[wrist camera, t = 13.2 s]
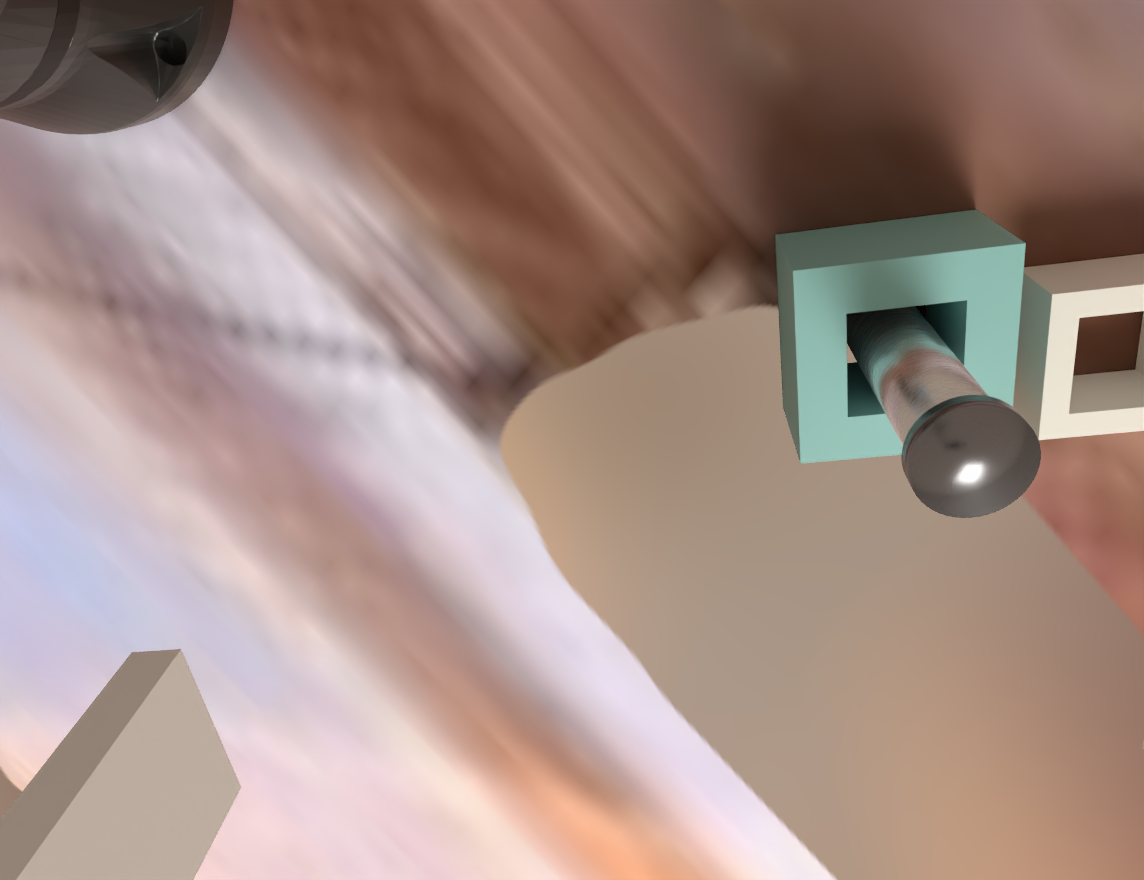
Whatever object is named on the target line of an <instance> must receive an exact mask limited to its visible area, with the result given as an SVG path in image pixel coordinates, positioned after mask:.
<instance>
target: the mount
mask: <svg viewBox="0 0 1144 880" xmlns="http://www.w3.org/2000/svg"><path fill="white" fill-rule="evenodd" d="M1139 311H1144V254H1136V255H1128V256H1119V257H1110V258H1102V259H1093V260H1085V261H1076V262H1067V263H1059V264H1050V265H1041V266H1033V267H1024V272H1023V285H1022V297H1021V310H1020V323H1019V335H1018V348H1017V361H1016V373H1015V386H1014V399H1013V407H1014V408H1015V409H1016V410H1017V411H1018V412H1019V413H1020V415H1021V416H1022V417H1023V418H1024V419H1025V420H1026V422H1027V423H1028V424H1029V425H1030V426H1031V428H1032V429H1033V430H1034V432H1035V434H1036V436H1037V438H1038V440H1044V439H1056V438H1067V437H1078V436H1089V435H1100V434H1111V433H1122V432H1133V431H1144V312H1143V318H1142V325H1141V332H1140V339H1139V346H1138V353H1137V360H1136V367H1135V370H1125V371H1115V372H1105V373H1095V374H1085V375H1075V376H1073V372H1074V363H1075V354H1076V344H1077V335H1078V326H1079V318H1084V317H1093V316H1102V315H1112V314H1121V313H1130V312H1139Z"/></svg>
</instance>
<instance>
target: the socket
mask: <svg viewBox="0 0 1144 880" xmlns="http://www.w3.org/2000/svg"><path fill="white" fill-rule="evenodd" d="M775 243H776V264H777V285H778V306H779V326H780V327H779V328H780V346H781V347H780V348H781V370H782V390H783V408H784V412H785V415H786V418H787V421H788V425H789V428H790V431H791V434H792V438H793V441H794V444H795V447H796V450H797V454H798V457H799V460H800V463H812V462H822V461H834V460H845V459H856V458H867V457H878V456H890V455H901V454H902V447H903V445H902V443H901V441H900V439H899V437H898V436H897V434H896V432H895V430H894V428H893V426H892V425H891V423H890V421H889V419H888V417H887V415H886V414H885V412H884V410H883V408H882V406H881V404H880V403H879V401H878V399H877V397H876V395H875V393H874V392H873V390H872V388H871V386H870V384H869V382H868V381H867V379H866V377H865V375H864V373H863V371H862V370H861V368H860V366H859V364H858V362H855V363H847V317H846V314H849V313H858V312H867V311H876V310H885V309H894V308H903V307H912V306H921V305H926V313H925V319H926V320H927V322H928V323H929V324H930V325H931V326H932V328H933V329H934V330H935V331H936V333H937V334H938V335H939V336H940V337H941V339H942V340H943V341H944V342H945V343H946V345H947V346H948V347H949V348H950V350H951V351H952V352H953V353H954V354H955V356H956V357H957V358H958V359H959V361H960V362H961V363H962V364H963V365H964V367H965V368H966V369H967V370H968V371H969V373H970V374H971V375H972V376H973V378H974V379H975V380H976V381H977V382H978V384H979V385H980V386H981V387H982V389H983V390H984V391H985V392H986V393H987V395H988V396H990V397H994V398H997V399H1000V400H1002V401H1004V402H1006V403H1008V404H1009V405H1011V406H1012V407H1013V399H1014V386H1015V373H1016V361H1017V348H1018V335H1019V323H1020V310H1021V297H1022V285H1023V272H1024V259H1025V247H1026V243H1025V242H1023V241H1022V240H1020V239H1019V238H1017V237H1016V236H1015V235H1013V234H1012V233H1010V232H1009V231H1007V230H1006V229H1004V228H1003V227H1001V226H1000V225H998V224H997V223H996V222H994V221H993V220H991V219H990V218H988V217H987V216H985V215H984V214H982V213H981V212H979V211H978V210H977V209H976V210H968V211H960V212H952V213H944V214H936V215H928V216H920V217H912V218H904V219H896V220H888V221H880V222H872V223H864V224H856V225H848V226H841V227H833V228H825V229H817V230H809V231H801V232H793V233H785V234H777V235H775Z"/></svg>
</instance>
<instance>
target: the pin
mask: <svg viewBox="0 0 1144 880" xmlns="http://www.w3.org/2000/svg"><path fill="white" fill-rule="evenodd" d="M846 317H847V344H848V346H849V347H850V349H851V351H852V353H853V355H854V357H855V359H856V360H857V362H858V364H859V366H860V368H861V370H862V371H863V373H864V375H865V377H866V379H867V381H868V382H869V384H870V386H871V388H872V390H873V392H874V393H875V395H876V397H877V399H878V401H879V403H880V404H881V406H882V408H883V410H884V412H885V414H886V415H887V417H888V419H889V421H890V423H891V425H892V426H893V428H894V430H895V432H896V434H897V436H898V437H899V439H900V441H901V443H902V445H903V447H902V455H901V456H902V466H903V470H904V472H905V475H906V477H907V479H908V481H909V483H910V485H911V487H912V489H913V491H914V492H915V494H916V496H917V497H918V498H919V499H920V500H921V502H923V503H924V504H925V505H926V506H927V507H929V508H930V509H932V510H934V511H936V512H938V513H940V514H944V515H946V516H952V517H959V518H971V517H979V516H983V515H987V514H990V513H993V512H996V511H998V510H1000V509H1002V508H1004V507H1006V506H1008V505H1009V504H1011V503H1012V502H1014V501H1015V500H1016V499H1018V498H1019V497H1020V496H1021V495H1022V494H1023V493H1024V492H1025V491H1026V490H1027V488H1028V487H1029V486H1030V484H1031V483H1032V481H1033V480H1034V478H1035V476H1036V474H1037V471H1038V468H1039V465H1040V459H1041V450H1040V444H1039V441H1038V438H1037V436H1036V434H1035V432H1034V430H1033V429H1032V428H1031V426H1030V425H1029V424H1028V423H1027V422H1026V420H1025V419H1024V418H1023V417H1022V416H1021V415H1020V413H1019V412H1018V411H1017V410H1016V409H1015V408H1014V407H1012V406H1011V405H1009V404H1008V403H1006V402H1004V401H1002V400H1000V399H997V398H994V397H990V396H988V395H987V393H986V392H985V391H984V390H983V389H982V387H981V386H980V385H979V384H978V382H977V381H976V380H975V379H974V378H973V376H972V375H971V374H970V373H969V371H968V370H967V369H966V368H965V367H964V365H963V364H962V363H961V362H960V361H959V359H958V358H957V357H956V356H955V354H954V353H953V352H952V351H951V350H950V348H949V347H948V346H947V345H946V343H945V342H944V341H943V340H942V339H941V337H940V336H939V335H938V334H937V333H936V331H935V330H934V329H933V328H932V326H931V325H930V324H929V323H928V322H927V320H926V319H925V318H924V317H923V315H922V314H921V313H920V312H919V311H918V309H917V308H916V307H915V306H912V307H903V308H894V309H885V310H876V311H867V312H858V313H849V314H846Z"/></svg>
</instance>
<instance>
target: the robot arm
mask: <svg viewBox="0 0 1144 880" xmlns="http://www.w3.org/2000/svg"><path fill="white" fill-rule="evenodd" d="M232 7H233V0H0V118H2V119H6V120H9V121H12V122H16V123H19V124H23V125H26V126H30V127H33V128H37V129H41V130H46V131H50V132H57V133H64V134H99V133H107V132H112V131H116V130H120V129H124V128H128V127H132V126H136V125H140V124H143V123H146V122H149V121H152V120H154V119H157V118H159V117H161V116H163V115H165V114H167V113H168V112H170V111H172V110H173V109H175V108H176V107H178V106H179V105H180V104H182V103H183V102H184V101H185V100H187V99H188V98H189V97H190V96H191V95H192V94H193V93H194V92H195V91H196V90H197V88H198V87H199V86H200V85H201V84H202V82H203V81H204V80H205V78H206V77H207V76H208V74H209V73H210V71H211V69H212V68H213V66H214V64H215V62H216V60H217V58H218V56H219V54H220V52H221V49H222V47H223V44H224V42H225V38H226V35H227V32H228V28H229V24H230V19H231V14H232ZM1143 749H1144V743H1143ZM240 788H241V786H240V783H239V781H238V779H237V776H236V774H235V772H234V770H233V767H232V765H231V763H230V760H229V758H228V756H227V754H226V751H225V749H224V747H223V744H222V742H221V740H220V737H219V735H218V733H217V731H216V728H215V726H214V724H213V721H212V719H211V717H210V715H209V712H208V710H207V708H206V705H205V703H204V701H203V699H202V696H201V694H200V692H199V689H198V687H197V685H196V682H195V680H194V678H193V676H192V673H191V671H190V669H189V666H188V664H187V662H186V660H185V657H184V655H183V653H182V650H181V649H177V650H162V651H147V652H132V653H131V654H130V656H129V657H128V658H127V659H126V661H125V662H124V663H123V664H122V666H121V667H120V668H119V670H118V671H117V672H116V673H115V675H114V676H113V677H112V678H111V680H110V681H109V682H108V684H107V685H106V686H105V687H104V689H103V690H102V691H101V692H100V694H99V695H98V696H97V698H96V699H95V700H94V701H93V703H92V704H91V705H90V706H89V708H88V709H87V710H86V712H85V713H84V714H83V715H82V717H81V718H80V719H79V720H78V722H77V723H76V724H75V726H74V727H73V728H72V729H71V731H70V732H69V733H68V734H67V736H66V737H65V738H64V740H63V741H62V742H61V743H60V745H59V746H58V747H57V748H56V750H55V751H54V752H53V754H52V755H51V756H50V757H49V759H48V760H47V761H46V763H45V764H44V765H43V766H42V768H41V769H40V770H39V771H38V773H37V774H36V775H35V777H34V778H33V779H32V780H31V782H30V783H29V784H28V785H27V787H26V788H25V789H24V791H23V792H22V793H21V795H20V796H19V797H18V798H17V799H16V801H15V802H14V803H13V805H12V806H11V807H10V809H9V810H8V811H7V812H6V813H5V815H4V816H3V817H2V819H1V820H0V880H193V879H194V877H195V875H196V873H197V871H198V870H199V868H200V866H201V864H202V862H203V860H204V858H205V856H206V854H207V852H208V850H209V848H210V846H211V844H212V842H213V840H214V839H215V837H216V835H217V833H218V831H219V829H220V827H221V825H222V823H223V821H224V819H225V817H226V815H227V813H228V811H229V810H230V808H231V806H232V804H233V802H234V800H235V798H236V796H237V794H238V792H239V790H240Z"/></svg>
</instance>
